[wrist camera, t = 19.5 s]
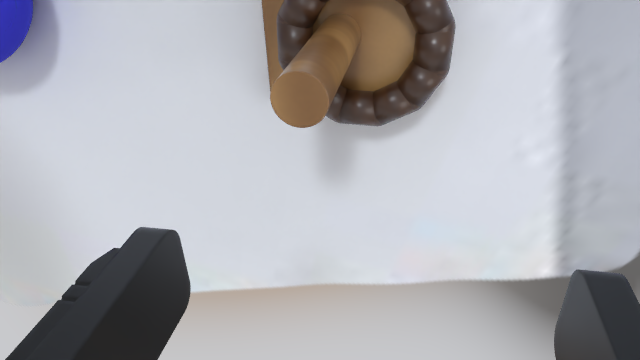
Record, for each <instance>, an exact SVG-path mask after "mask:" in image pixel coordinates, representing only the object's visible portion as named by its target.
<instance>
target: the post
mask: <svg viewBox="0 0 640 360" xmlns="http://www.w3.org/2000/svg"><path fill="white" fill-rule="evenodd" d="M283 2H284V0H262V9H263V19H264V30H265V40H266V50H267V61H268V71H269V81H270V92H271V93H270V99H271V104H272V107H273V109H274V111H275V113H276V114H277V116H278V117H279V118H280V119H281V120H282V121H284V122H285V123H287V124H289V125H291V126H294V127H299V128H306V127H311V126H314V125H316V124H317V123H319V122H320V121H321V120H322V119H323V118H324V117H325V115H326V113H327V111H328V109H329V107H330V105H331V103H332V101H333V99H334V97H335V94H336V92H337V90H338V88H339V86H340V85H342V86H343V87H345V88H347V89H348V90H362V91H376V90H378V89H380V88H382V87H385V86H387V85H389V84H391V83H393V82H395V81H398V79H399V78H400V76H401V75H402V74H403V72H404V71H405V69H406V68H407V67H408V65H409V64H410V63H411V61H412V60H413V53H414V44H415V34H416V32H415V30H414V27H413V25H412V23H411V21H410V19H409V17H408V14H407V12H406V10H405V8H404V6H403V5H401V4H400V3H398V2H397V1H395V0H329V1H328V2H326V3H325V5H324V7H323V9H322V11H321V12H320V14H319V16H318V18H317V19H316V21H315V23H314V25H313V35H312V36H311V38H310V39H309V40H308V41H307V43H306V44H305V45H304V46H303V47H302V49H301V50H300V51H299V52H298V54H297V55H296V56H295V57H294V59H293V60H292V61H291V62H290V63H289V65H288V66H287V67H286V68H285V70H284V71H283V69H282V68H281V66H280V64H279V60H278V44H277V14H278V11H279V9H280V7H281V5H282V3H283Z"/></svg>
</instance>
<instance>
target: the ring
mask: <svg viewBox="0 0 640 360" xmlns="http://www.w3.org/2000/svg"><path fill="white" fill-rule="evenodd" d="M328 1H329V0H284V2H283V3H282V5H281V7H280V9H279V11H278V14H277V44H278V60H279V64H280V66H281V68H282V69H283V71H284V70H285V68H286V67H287V66H288V65H289V63H290V62H291V61H292V60H293V59H294V57H295V56H296V55H297V54H298V52H299V51H300V50H301V49H302V47H303V46H304V45H305V44H306V43H307V41H308V40H309V39H310V38H311V36H312V35H313V25H314V23H315V21H316V19H317V18H318V16H319V14H320V12H321V11H322V9H323V7H324V5H325V3H326V2H328ZM395 1H397V2H398V3H400V4H401V5H403V6H404V8H405V10H406V12H407V14H408V17H409V19H410V21H411V23H412V25H413V27H414V30H415V32H416V34H415V44H414V53H413V60H412V61H411V63H410V64H409V65H408V67H407V68H406V69H405V71H404V72H403V74H402V75H401V76H400V78H399V79H398V81H395V82H393V83H391V84H389V85H387V86H385V87H382V88H380V89H378V90H376V91H362V90H348V89H347V88H345V87H343V86H342V85H340V86H339V88H338V90H337V92H336V94H335V97H334V99H333V101H332V103H331V105H330V107H329V109H328V111H327V113H326V115H325V116H327V117H328V118H330V119H332V120H333V121H335V122H338V123H345V124H356V125H368V126H381V125H384V124H386V123H389V122H391V121H393V120H396V119H398V118H400V117H403V116H405V115H407V114H410V113H412V112H415V111H417V110H418V109H420V108H421V107H422V106H423V105H424V103H425V102H426V101H427V100H428V98H429V97H430V96H431V95H432V93H433V92H434V91H435V89H436V88H437V87H438V86H439V84H440V83H441V82H442V81H443V79H444V78H445V77H446V75H447V74H448V71H449V68H450V61H451V54H452V47H453V41H454V34H455V20H454V17H453V15H452V13H451V10H450V8H449V6H448V3H447V1H446V0H395Z"/></svg>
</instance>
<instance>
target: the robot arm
mask: <svg viewBox="0 0 640 360" xmlns="http://www.w3.org/2000/svg"><path fill="white" fill-rule="evenodd" d="M189 297H190V280H189V276H188V271H187V267H186V263H185V258H184V254H183V250H182V246H181V241H180V237H179V235H178V233H177V232H176V231H175V230H168V229H158V228H147V227H140V228H138V229H136V230H135V231H134V233H133V234H132V235H131V236H130V237H129V238H128V240H127V241H126V242H125V243H124V244H123V246H122V247H121V248H113V249H112V250H110V251H109V252H107V253H106V254H104V255H103V256H101V257H100V258H98V259H97V260H95V261H94V262H92V263H91V264H90V265H89V266H88V267H87V269H86V270H85V271H84V272H83V273H82V274H81V275H80V276H79V278H78V279H77V280H76V283H75V285H71V287H70V288H69V289H68V290H67V291H66V292H65V293H64V294H63V295H62V299H61V300H58V301H57V302H56V303H55V304H54V306H53V307H52V308H51V309H50V310H49V311H48V312H47V314H46V315H45V316H44V317H43V318H42V319H41V320H40V321H39V322H38V324H37V325H36V326H35V327H34V328H33V329H32V330H31V331H30V333H29V334H28V335H27V336H26V337H25V338H24V339H23V340H22V342H21V343H20V344H19V345H18V346H17V347H16V348H15V350H14V351H13V352H12V353H11V354H10V355H9V356H8V357H7V358H6V359H5V360H157V359H158V358H159V356H160V354H161V352H162V351H163V349H164V347H165V345H166V344H167V342H168V340H169V338H170V337H171V335H172V333H173V331H174V330H175V328H176V326H177V324H178V323H179V321H180V319H181V317H182V316H183V314H184V312H185V310H186V308H187V305H188V302H189ZM554 348H555V356H556V360H640V304H639V302H638V300H637V298H636V296H635V295H634V292H633V290H632V288H631V286H630V284H629V282H628V280H627V279H626V277H625V276H623V275H622V274H620V273H609V272H599V271H588V270H576V271H574V273H573V274H572V277H571V279H570V282H569V286H568V289H567V292H566V296H565V298H564V302H563V305H562V308H561V311H560V315H559V318H558V321H557V324H556V328H555V337H554Z"/></svg>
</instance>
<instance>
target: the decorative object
mask: <svg viewBox="0 0 640 360" xmlns="http://www.w3.org/2000/svg"><path fill="white" fill-rule="evenodd" d="M32 14H33V0H0V63H1V62H2V61H4V60H6V59H7V58H8V57H9V56H11V55H12V54H13V53H14V52H15V51H16V50H17V49H18V48H19V46H20V45H21V43H22V42H23V40H24V39H25V37H26V35H27V32H28V30H29V27H30V24H31V20H32Z"/></svg>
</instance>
